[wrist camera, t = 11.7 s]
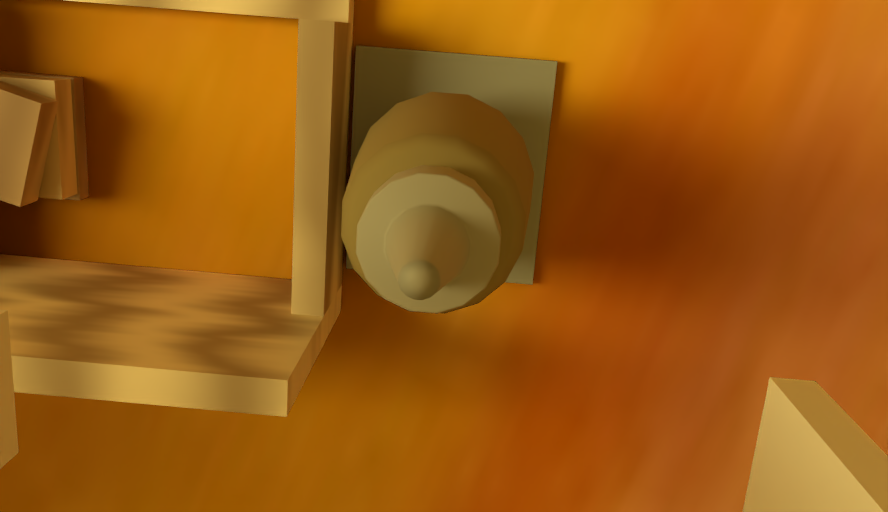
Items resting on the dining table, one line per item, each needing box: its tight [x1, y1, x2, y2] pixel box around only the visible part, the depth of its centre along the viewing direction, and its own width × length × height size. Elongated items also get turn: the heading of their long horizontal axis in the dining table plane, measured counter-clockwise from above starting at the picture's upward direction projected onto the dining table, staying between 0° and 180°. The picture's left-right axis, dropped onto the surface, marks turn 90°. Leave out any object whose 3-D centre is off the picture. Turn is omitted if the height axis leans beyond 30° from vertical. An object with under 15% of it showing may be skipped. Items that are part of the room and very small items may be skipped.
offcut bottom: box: [0, 71, 89, 200], centre depth 40 cm, size 5×6×2 cm
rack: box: [0, 0, 354, 417], centre depth 34 cm, size 20×16×12 cm
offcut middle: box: [0, 74, 78, 200], centre depth 38 cm, size 5×6×2 cm
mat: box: [346, 45, 557, 285], centre depth 39 cm, size 10×11×1 cm
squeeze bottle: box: [341, 92, 534, 314], centre depth 30 cm, size 8×8×18 cm
